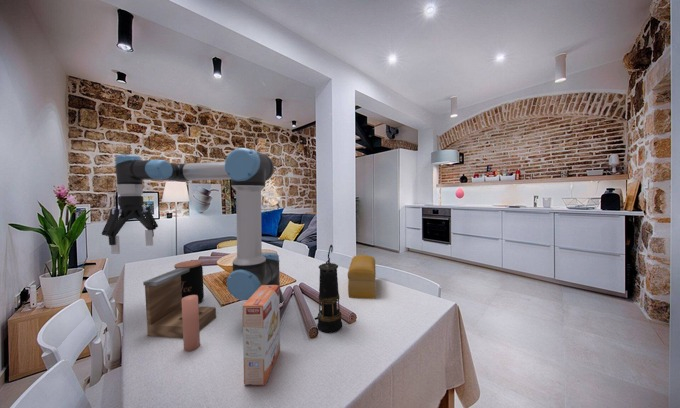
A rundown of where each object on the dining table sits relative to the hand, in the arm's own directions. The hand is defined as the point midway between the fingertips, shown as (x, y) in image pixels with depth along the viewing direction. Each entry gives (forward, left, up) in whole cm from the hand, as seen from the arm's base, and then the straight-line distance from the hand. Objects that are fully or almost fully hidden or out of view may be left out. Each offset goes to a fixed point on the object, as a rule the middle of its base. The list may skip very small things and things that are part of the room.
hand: (133, 249), depth 95 cm
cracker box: (-63, +21, -28) cm, 72 cm away
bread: (-89, -37, -28) cm, 100 cm away
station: (-24, +4, -28) cm, 37 cm away
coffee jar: (-12, -14, -28) cm, 33 cm away
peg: (-36, +15, -28) cm, 48 cm away
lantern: (-78, -1, -28) cm, 83 cm away
